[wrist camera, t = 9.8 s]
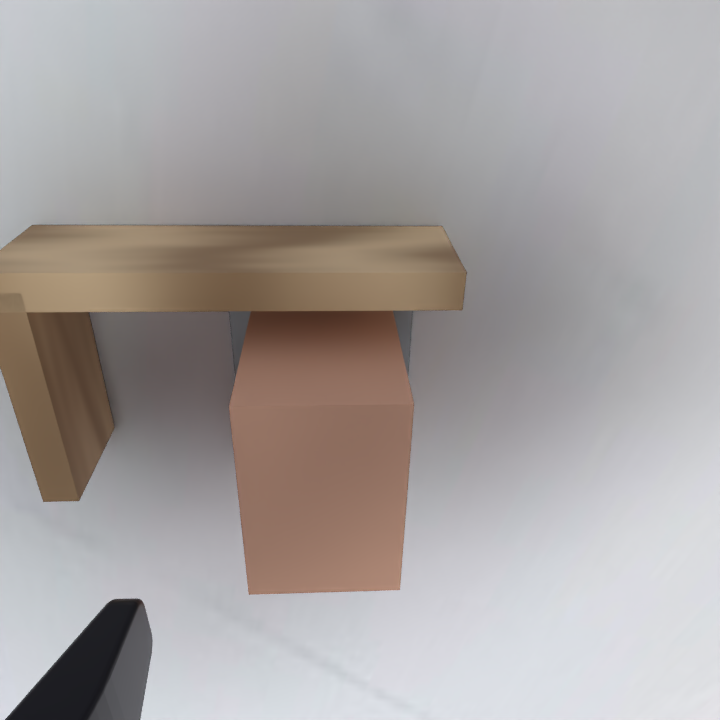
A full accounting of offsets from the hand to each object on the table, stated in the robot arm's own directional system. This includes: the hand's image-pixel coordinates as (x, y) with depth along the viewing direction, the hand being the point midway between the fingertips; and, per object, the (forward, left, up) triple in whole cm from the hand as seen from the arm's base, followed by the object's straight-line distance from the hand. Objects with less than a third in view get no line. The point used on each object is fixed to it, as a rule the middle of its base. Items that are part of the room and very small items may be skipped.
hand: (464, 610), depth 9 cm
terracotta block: (+2, +3, -11) cm, 12 cm away
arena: (+4, +3, -12) cm, 13 cm away
